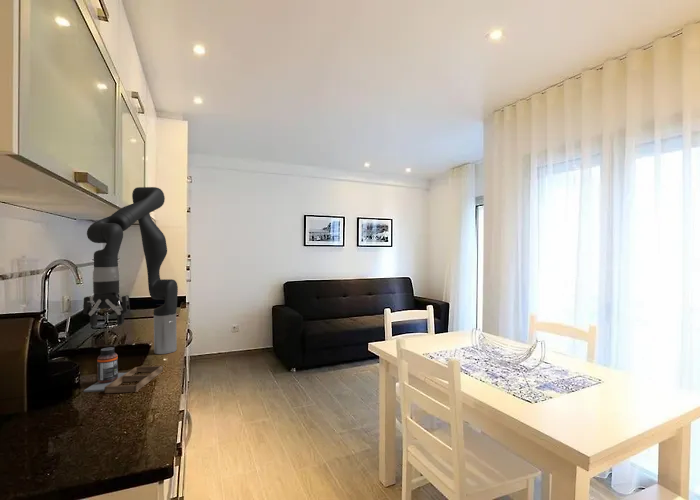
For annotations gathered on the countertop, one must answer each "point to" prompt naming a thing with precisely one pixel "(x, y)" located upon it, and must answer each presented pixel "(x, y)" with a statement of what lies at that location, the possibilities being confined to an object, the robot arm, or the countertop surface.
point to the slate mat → (100, 385)
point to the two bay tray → (133, 379)
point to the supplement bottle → (107, 365)
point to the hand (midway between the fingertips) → (107, 325)
